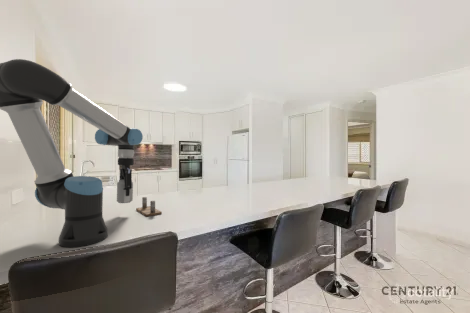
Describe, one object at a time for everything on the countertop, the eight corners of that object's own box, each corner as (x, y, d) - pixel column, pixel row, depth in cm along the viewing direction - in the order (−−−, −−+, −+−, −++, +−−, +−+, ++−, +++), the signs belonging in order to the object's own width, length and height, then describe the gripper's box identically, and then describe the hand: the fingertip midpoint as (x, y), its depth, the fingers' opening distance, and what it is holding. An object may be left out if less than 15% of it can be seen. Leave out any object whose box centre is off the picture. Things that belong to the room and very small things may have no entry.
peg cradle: (161, 214, 116) (161, 200, 116) (146, 216, 111) (146, 202, 111) (150, 208, 129) (150, 196, 129) (136, 210, 124) (136, 197, 124)
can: (113, 202, 113) (114, 179, 113) (126, 200, 119) (127, 178, 119) (122, 204, 109) (123, 180, 109) (135, 201, 116) (136, 179, 116)
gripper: (139, 157, 109) (138, 203, 109) (128, 158, 125) (127, 197, 124) (123, 157, 105) (121, 204, 104) (113, 157, 120) (112, 198, 119)
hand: (124, 200), depth 114 cm, fingers closed on can, 7 cm apart
